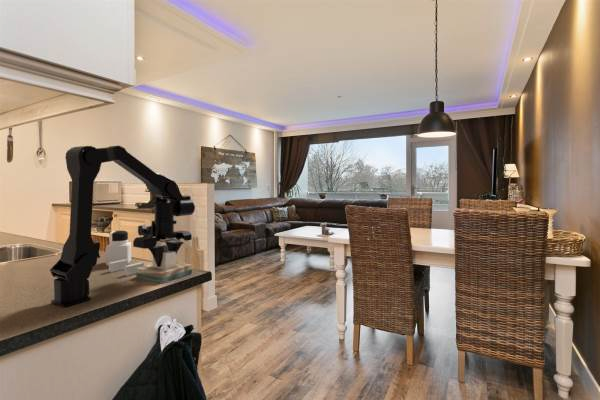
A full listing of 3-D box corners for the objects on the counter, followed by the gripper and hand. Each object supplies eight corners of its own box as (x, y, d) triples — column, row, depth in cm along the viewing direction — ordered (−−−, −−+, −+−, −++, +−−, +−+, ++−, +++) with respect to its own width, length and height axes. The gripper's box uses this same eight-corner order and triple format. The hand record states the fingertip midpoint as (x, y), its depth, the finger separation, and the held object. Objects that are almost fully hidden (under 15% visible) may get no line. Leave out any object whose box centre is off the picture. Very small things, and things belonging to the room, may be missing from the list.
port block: (162, 283, 98) (162, 273, 98) (136, 277, 104) (136, 268, 104) (191, 273, 109) (191, 264, 109) (166, 268, 115) (166, 260, 114)
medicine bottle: (131, 260, 126) (131, 229, 125) (127, 264, 119) (127, 232, 118) (110, 261, 124) (110, 230, 123) (105, 265, 117) (105, 232, 116)
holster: (127, 275, 105) (127, 266, 105) (108, 271, 110) (108, 262, 109) (143, 271, 110) (143, 262, 110) (125, 267, 115) (125, 259, 115)
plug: (165, 272, 103) (165, 247, 103) (153, 270, 106) (152, 245, 106) (175, 269, 107) (175, 245, 106) (163, 267, 110) (163, 243, 109)
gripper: (170, 213, 117) (170, 256, 118) (121, 218, 101) (122, 268, 102) (192, 215, 112) (192, 260, 113) (145, 221, 96) (145, 273, 97)
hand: (164, 264), depth 106 cm, fingers open, 4 cm apart
